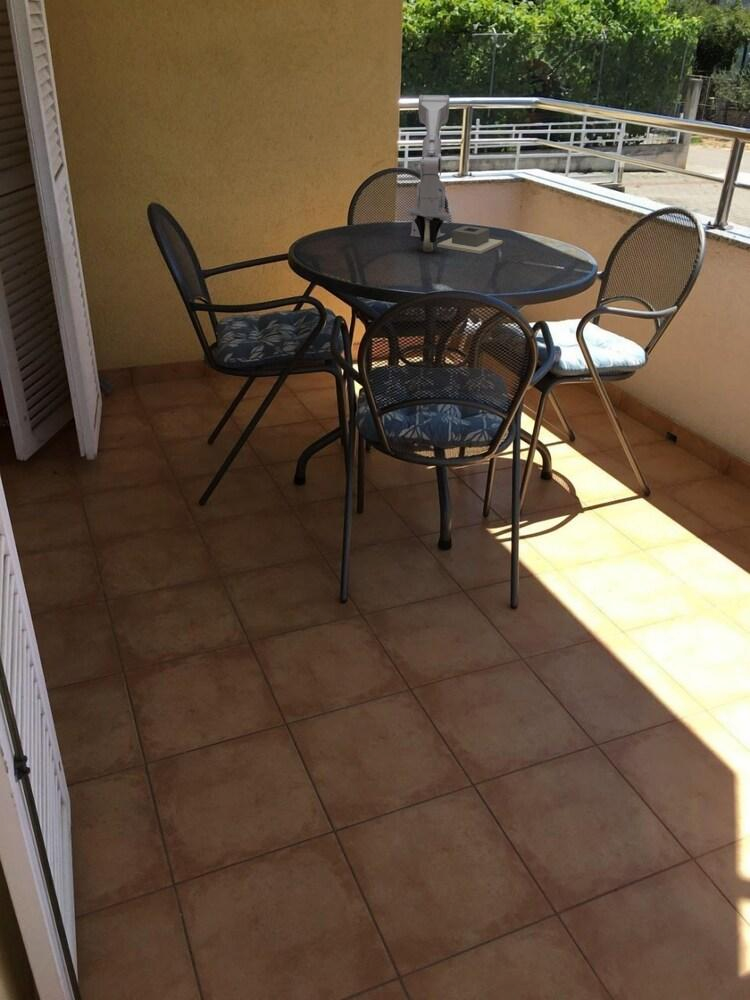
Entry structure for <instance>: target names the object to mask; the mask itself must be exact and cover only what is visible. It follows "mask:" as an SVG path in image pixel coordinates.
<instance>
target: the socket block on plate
mask: <svg viewBox="0 0 750 1000" xmlns="http://www.w3.org/2000/svg"><path fill="white" fill-rule="evenodd" d="M503 242H504V241H503V240H502V239H501V240H500V239H494V238H490V228H484V227H477V226H472V225H464V226H461V227H458V228H455V229H453V230H452V231H451V237H450V238H448V239H446V240H443V241H441V242H439V243H436V247H437V248H442V249H447V250H454V251H460V252H465V253H466V252H467V253H474V254H479V255H482V254H484V253H485V252H487V251H489V250H492V249H494V248H496V247H499V246H500V245H503Z"/></svg>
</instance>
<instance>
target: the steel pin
mask: <svg viewBox="0 0 750 1000" xmlns="http://www.w3.org/2000/svg"><path fill="white" fill-rule="evenodd" d="M430 220H433V219H431V218H424V241H423V250H422V251H423V252H425V253H426V252H429V253H430V252H433V250H434V249H433V248H434V247H433V246H434V245H433V244H434V242H433V243H431V242H430V234H431V232H430V224H429V221H430Z"/></svg>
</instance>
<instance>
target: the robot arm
mask: <svg viewBox="0 0 750 1000" xmlns="http://www.w3.org/2000/svg"><path fill="white" fill-rule="evenodd" d="M449 114H450V95H448V94H446V95H442V94H441V95H439V94H438V95H437V94H433V95H432V94H431V95H430V94H420V95H419V96H418V114H417V115H418V120H419V123H421V124H423V125H424V126H425V129H426V136H425V137H424V138H423V139H422V140H423V141H422V150H421V152H422V154H421V158H420V162H419V173H420V174H419V175H420V181H419V182H418V183H417V185H416V191H415V192H416V193H415V206H416V207H415V208H410V209H408V210H407V216H409V217H411V233H410V235H409V236H410V237H418V238H419V239H420V242H424V218H431V219H433V220H430V221H429V224H430V232H431V234H430V242H431V243H433V244H434V243H435V242H436V240H437V239H438V238H441V237H443V236H445V235H446V234H445V233H444V232H443V233H442V232H441V226H442V225H443V223H444V222H450V221H451V216H452V214H451V213H447V212H443V211H442V209H444V208H445V206H446V205H445V204H446V184H445V183H444V182H443V181H442V180H441V179H440V177H441V175H442V164H443V163H442V161H443V160H442V153H441V152H442V149H441V148H442V140H441V139H442V138H441V137H440V131H441V128H442V126H443V125H445V124H447V123H448V120H449Z"/></svg>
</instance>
